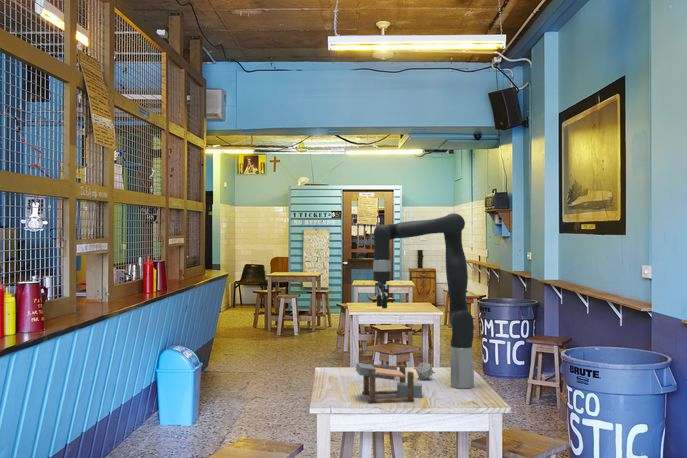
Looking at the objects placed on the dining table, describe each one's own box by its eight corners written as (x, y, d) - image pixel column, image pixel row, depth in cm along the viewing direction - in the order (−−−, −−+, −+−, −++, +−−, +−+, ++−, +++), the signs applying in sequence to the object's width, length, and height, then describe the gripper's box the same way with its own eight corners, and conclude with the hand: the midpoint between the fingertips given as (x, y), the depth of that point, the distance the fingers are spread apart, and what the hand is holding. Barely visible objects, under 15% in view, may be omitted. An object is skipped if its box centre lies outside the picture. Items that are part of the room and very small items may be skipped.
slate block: (397, 394, 252) (421, 395, 250) (396, 397, 247) (421, 398, 245) (397, 382, 252) (421, 383, 250) (396, 385, 247) (421, 385, 245)
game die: (428, 387, 280) (441, 369, 280) (421, 383, 274) (434, 366, 273) (414, 375, 286) (428, 358, 286) (407, 371, 279) (420, 354, 279)
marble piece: (393, 380, 279) (393, 371, 279) (361, 378, 282) (361, 369, 283) (398, 372, 295) (398, 364, 295) (368, 371, 299) (368, 362, 299)
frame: (404, 392, 254) (404, 361, 255) (414, 401, 239) (414, 368, 239) (362, 393, 252) (362, 362, 252) (369, 403, 237) (369, 369, 237)
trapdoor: (398, 374, 252) (399, 367, 252) (404, 380, 241) (405, 372, 241) (355, 369, 249) (356, 362, 249) (360, 375, 239) (361, 367, 239)
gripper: (394, 270, 262) (394, 308, 261) (385, 269, 276) (385, 305, 275) (377, 271, 260) (377, 309, 260) (369, 269, 274) (369, 306, 274)
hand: (381, 307), depth 267 cm, fingers open, 8 cm apart
